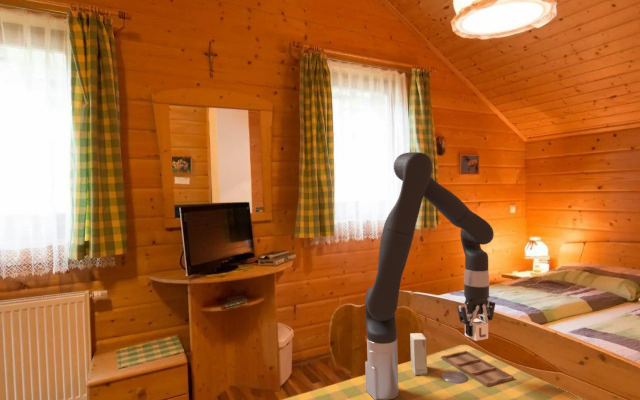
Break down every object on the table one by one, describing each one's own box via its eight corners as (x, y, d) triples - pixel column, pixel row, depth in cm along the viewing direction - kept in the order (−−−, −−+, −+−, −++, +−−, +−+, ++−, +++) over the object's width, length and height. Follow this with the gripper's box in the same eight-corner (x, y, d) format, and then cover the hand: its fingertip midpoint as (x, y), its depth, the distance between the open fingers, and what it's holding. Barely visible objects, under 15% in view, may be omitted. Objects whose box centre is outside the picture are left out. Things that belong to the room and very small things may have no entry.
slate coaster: (452, 386, 125) (452, 384, 125) (436, 375, 132) (436, 373, 132) (472, 381, 128) (472, 379, 127) (455, 370, 135) (455, 368, 135)
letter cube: (476, 341, 125) (476, 325, 125) (464, 335, 130) (464, 320, 130) (488, 338, 127) (488, 323, 127) (476, 333, 132) (476, 318, 132)
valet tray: (486, 387, 123) (486, 383, 123) (441, 359, 144) (441, 356, 144) (513, 380, 127) (513, 376, 127) (465, 353, 148) (465, 350, 148)
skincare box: (427, 375, 132) (426, 339, 132) (414, 375, 132) (413, 340, 132) (423, 366, 139) (422, 332, 138) (410, 366, 139) (409, 332, 138)
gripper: (466, 288, 122) (466, 342, 122) (502, 283, 127) (502, 335, 128) (450, 282, 129) (450, 333, 129) (485, 278, 134) (484, 327, 135)
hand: (476, 334), depth 129 cm, fingers closed on letter cube, 5 cm apart
